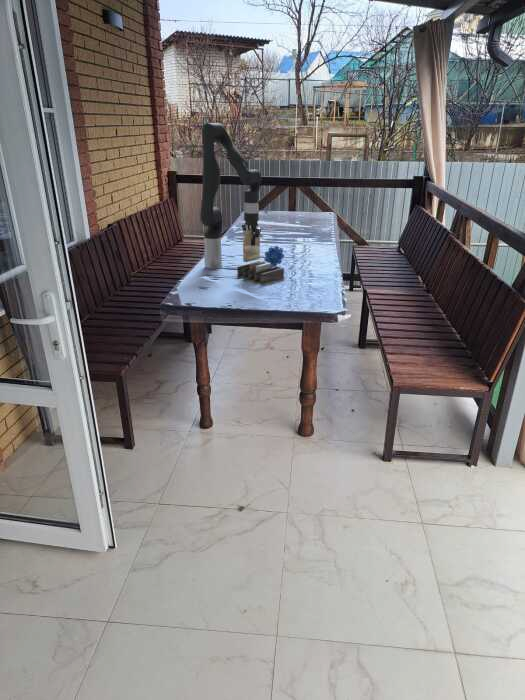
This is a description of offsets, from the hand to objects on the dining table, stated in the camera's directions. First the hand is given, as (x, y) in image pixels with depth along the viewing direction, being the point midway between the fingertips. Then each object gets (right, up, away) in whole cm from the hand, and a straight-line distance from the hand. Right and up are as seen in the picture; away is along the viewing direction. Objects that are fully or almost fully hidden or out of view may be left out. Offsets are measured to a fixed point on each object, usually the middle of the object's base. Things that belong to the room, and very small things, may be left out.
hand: (251, 245), depth 256 cm
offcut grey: (+6, -17, +1) cm, 18 cm away
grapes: (+13, -7, +26) cm, 30 cm away
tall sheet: (0, -7, +4) cm, 8 cm away
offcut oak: (+3, -16, +4) cm, 16 cm away
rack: (+5, -18, +3) cm, 18 cm away
